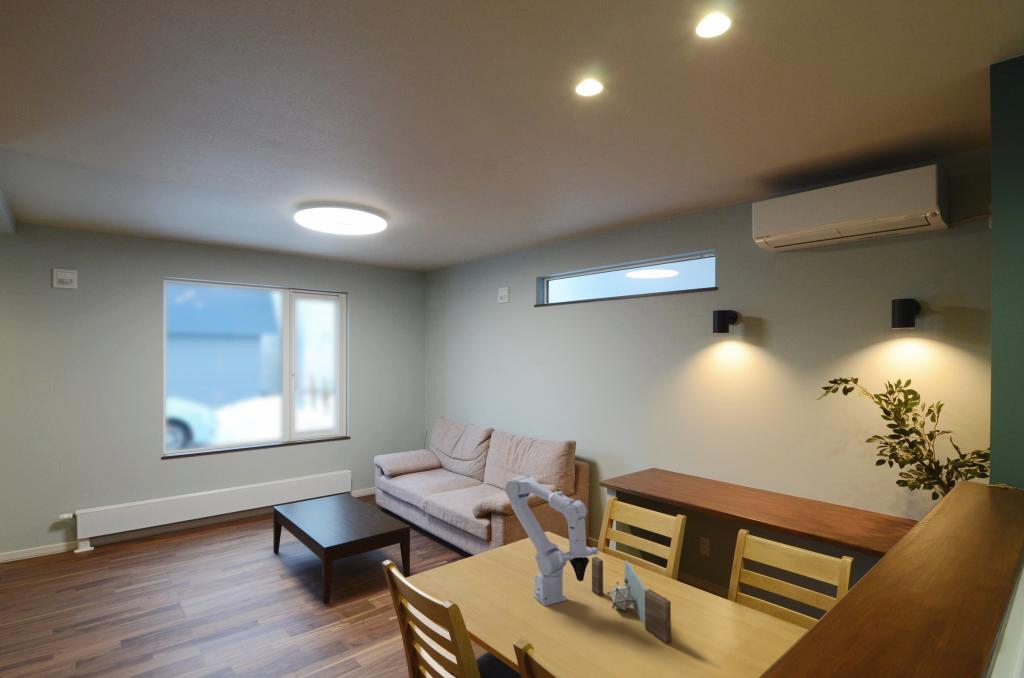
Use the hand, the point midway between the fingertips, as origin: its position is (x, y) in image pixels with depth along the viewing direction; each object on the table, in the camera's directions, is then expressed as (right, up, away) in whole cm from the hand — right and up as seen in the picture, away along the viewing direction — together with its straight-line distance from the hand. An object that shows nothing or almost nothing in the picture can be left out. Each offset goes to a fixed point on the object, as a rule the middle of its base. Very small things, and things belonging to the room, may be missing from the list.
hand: (580, 580), depth 172 cm
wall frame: (+15, -9, -4) cm, 18 cm away
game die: (+14, -10, -1) cm, 17 cm away
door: (+18, -9, -1) cm, 20 cm away
